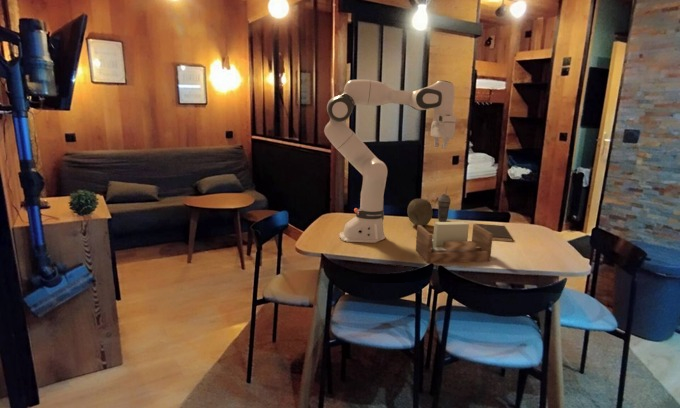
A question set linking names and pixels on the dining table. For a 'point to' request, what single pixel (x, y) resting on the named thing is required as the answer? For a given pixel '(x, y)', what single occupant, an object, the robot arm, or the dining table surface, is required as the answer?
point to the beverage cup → (443, 207)
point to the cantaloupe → (420, 212)
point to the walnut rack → (479, 255)
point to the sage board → (449, 232)
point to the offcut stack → (456, 247)
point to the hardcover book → (498, 232)
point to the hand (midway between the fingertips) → (440, 147)
